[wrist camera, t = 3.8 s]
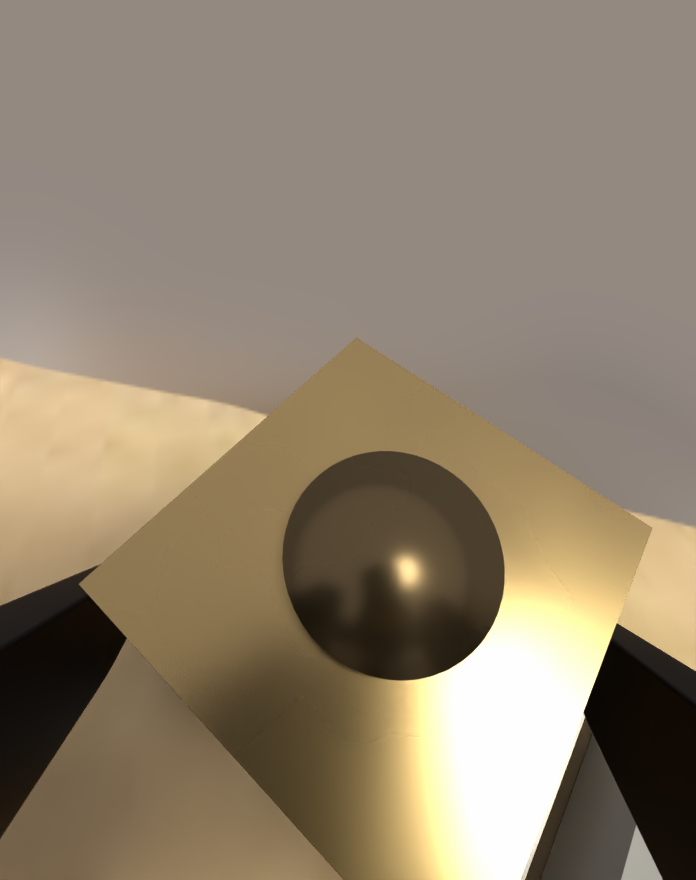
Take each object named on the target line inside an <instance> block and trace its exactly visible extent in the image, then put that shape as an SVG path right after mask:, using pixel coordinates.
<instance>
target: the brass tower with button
mask: <svg viewBox="0 0 696 880" xmlns="http://www.w3.org/2000/svg"><path fill="white" fill-rule="evenodd" d="M651 530H652V527H650V526H649V525H647V524H645V523H644V522H642V521H641V520H639V519H638V518H636V517H635V516H633V515H631V514H630V513H628V512H627V511H625V510H624V509H622V508H621V507H619V506H617V505H616V504H614V503H613V502H611V501H610V500H608V499H607V498H605V497H603V496H602V495H600V494H599V493H597V492H596V491H594V490H593V489H591V488H589V487H588V486H586V485H585V484H583V483H581V482H580V481H579V480H577V479H576V478H574V477H572V476H570V475H569V474H568V473H566V472H564V471H563V470H561V469H560V468H558V467H557V466H555V465H554V464H552V463H551V462H549V461H548V460H546V459H544V458H543V457H541V456H540V455H538V454H537V453H535V452H534V451H532V450H530V449H529V448H527V447H525V446H524V445H523V444H521V443H520V442H518V441H516V440H515V439H513V438H512V437H510V436H509V435H507V434H506V433H504V432H502V431H501V430H499V429H498V428H496V427H495V426H493V425H492V424H490V423H488V422H487V421H485V420H484V419H482V418H480V417H479V416H478V415H476V414H474V413H473V412H471V411H470V410H468V409H467V408H465V407H463V406H462V405H460V404H459V403H457V402H456V401H454V400H453V399H451V398H450V397H448V396H447V395H445V394H443V393H441V392H440V391H439V390H437V389H436V388H434V387H433V386H431V385H429V384H428V383H426V382H425V381H423V380H422V379H420V378H418V377H417V376H415V375H414V374H412V373H411V372H409V371H408V370H406V369H405V368H403V367H401V366H400V365H398V364H397V363H395V362H394V361H392V360H390V359H389V358H387V357H386V356H384V355H383V354H381V353H379V352H378V351H377V350H375V349H373V348H372V347H370V346H369V345H367V344H366V343H364V342H363V341H361V340H360V339H358V338H355V339H354V340H353V341H352V342H351V343H350V344H349V345H348V346H346V347H345V348H344V349H343V350H342V351H341V352H340V353H339V354H337V355H336V356H335V357H334V358H333V359H332V360H331V361H330V362H328V363H327V364H326V365H325V366H324V367H323V368H322V369H320V370H319V371H318V372H317V373H316V374H315V375H314V376H313V377H311V378H310V379H309V380H308V381H307V382H306V383H305V384H304V385H303V386H301V387H300V388H299V389H298V390H297V391H296V392H295V393H294V394H292V395H291V396H290V397H289V398H288V399H287V400H286V401H284V402H283V403H282V404H281V405H280V406H279V407H278V408H277V409H275V410H274V411H273V412H272V413H271V414H270V415H269V416H268V417H266V418H265V419H264V420H263V421H262V422H261V423H260V424H258V425H257V426H256V427H255V428H254V429H253V430H252V431H251V432H249V433H248V434H247V435H246V436H245V437H244V438H243V439H242V440H240V441H239V442H238V443H237V444H236V445H235V446H234V447H233V448H231V449H230V450H229V451H228V452H227V453H226V454H225V455H224V456H222V457H221V458H220V459H219V460H218V461H217V462H216V463H215V464H213V465H212V466H211V467H210V468H209V469H208V470H207V471H205V472H204V473H203V474H202V475H201V476H200V477H199V478H198V479H196V480H195V481H194V482H193V483H192V484H191V485H190V486H189V487H187V488H186V489H185V490H184V491H183V492H182V493H181V494H180V495H178V496H177V497H176V498H175V499H174V500H173V501H172V502H171V503H169V504H168V505H167V506H166V507H165V508H164V509H163V510H162V511H160V512H159V513H158V514H157V515H156V516H155V517H154V518H152V519H151V520H150V521H149V522H148V523H147V524H146V525H145V526H143V527H142V528H141V529H140V530H139V531H138V532H137V533H136V534H134V535H133V536H132V537H131V538H130V539H129V540H128V541H127V542H125V543H124V544H123V545H122V546H121V547H120V548H119V549H118V550H116V551H115V552H114V553H113V554H112V555H111V556H110V557H109V558H107V559H106V560H105V561H104V562H103V563H102V564H101V565H100V566H98V567H97V568H96V569H95V570H94V571H93V572H92V573H90V574H89V575H88V576H87V577H86V578H85V579H84V580H83V581H81V582H80V583H79V585H80V586H81V587H82V588H83V589H84V591H85V592H86V593H87V594H88V595H89V596H90V597H91V598H92V599H93V601H94V602H95V603H96V604H97V605H98V606H99V607H100V608H101V609H102V611H103V612H104V613H105V614H106V615H107V616H108V617H109V618H110V620H111V621H112V622H113V623H114V624H115V625H116V626H117V627H118V628H119V630H120V631H121V632H122V633H123V634H124V635H125V636H126V637H127V639H128V640H129V641H130V642H131V643H132V644H133V645H134V646H135V647H136V649H137V650H138V651H139V652H140V653H141V654H142V655H143V656H144V657H145V659H146V660H147V661H148V662H149V663H150V664H151V665H152V666H153V668H154V669H155V670H156V671H157V672H158V673H159V674H160V675H161V676H162V678H163V679H164V680H165V681H166V682H167V683H168V684H169V685H170V687H171V688H172V689H173V690H174V691H175V692H176V693H177V694H178V695H179V697H180V698H181V699H182V700H183V701H184V702H185V703H186V704H187V705H188V707H189V708H190V709H191V710H192V711H193V712H194V713H195V714H196V716H197V717H198V718H199V719H200V720H201V721H202V722H203V723H204V724H205V726H206V727H207V728H208V729H209V730H210V731H211V732H212V733H213V735H214V736H215V737H216V738H217V739H218V740H219V741H220V742H221V743H222V745H223V746H224V747H225V748H226V749H227V750H228V751H229V752H230V754H231V755H232V756H233V757H234V758H235V759H236V760H237V761H238V762H239V764H240V765H241V766H242V767H243V768H244V769H245V770H246V771H247V772H248V774H249V775H250V776H251V777H252V778H253V779H254V780H255V781H256V783H257V784H258V785H259V786H260V787H261V788H262V789H263V790H264V791H265V793H266V794H267V795H268V796H269V797H270V798H271V799H272V800H273V802H274V803H275V804H276V805H277V806H278V807H279V808H280V809H281V810H282V812H283V813H284V814H285V815H286V816H287V817H288V818H289V819H290V820H291V822H292V823H293V824H294V825H295V826H296V827H297V828H298V829H299V831H300V832H301V833H302V834H303V835H304V836H305V837H306V838H307V839H308V841H309V842H310V843H311V844H312V845H313V846H314V847H315V848H316V850H317V851H318V852H319V853H320V854H321V855H322V856H323V857H324V858H325V860H326V861H327V862H328V863H329V864H330V865H331V866H332V867H333V868H334V870H335V871H336V872H337V873H338V874H339V875H340V876H341V877H342V879H343V880H520V879H521V876H522V873H523V871H524V868H525V865H526V863H527V860H528V857H529V855H530V852H531V849H532V847H533V844H534V841H535V839H536V836H537V833H538V831H539V828H540V825H541V823H542V820H543V817H544V815H545V812H546V809H547V807H548V804H549V802H550V799H551V796H552V794H553V791H554V788H555V786H556V783H557V780H558V778H559V775H560V772H561V770H562V767H563V764H564V762H565V759H566V756H567V754H568V751H569V748H570V746H571V743H572V740H573V738H574V735H575V732H576V730H577V727H578V724H579V722H580V719H581V716H582V714H583V711H584V708H585V706H586V703H587V701H588V698H589V695H590V693H591V690H592V687H593V685H594V682H595V679H596V677H597V674H598V671H599V669H600V666H601V663H602V661H603V658H604V655H605V653H606V650H607V647H608V645H609V642H610V639H611V637H612V634H613V631H614V629H615V626H616V623H617V621H618V618H619V615H620V613H621V610H622V607H623V605H624V602H625V600H626V597H627V594H628V592H629V589H630V586H631V584H632V581H633V578H634V576H635V573H636V570H637V568H638V565H639V562H640V560H641V557H642V554H643V552H644V549H645V546H646V544H647V541H648V538H649V536H650V533H651Z"/></svg>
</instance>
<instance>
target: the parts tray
mask: <svg viewBox="0 0 696 880" xmlns="http://www.w3.org/2000/svg"><path fill="white" fill-rule="evenodd" d="M541 880H663V879H662V877H661V875H660V873H659V871H658V869H657V867H656V865H655V863H654V861H653V859H652V856H651V854H650V852H649V850H648V848H647V846H646V844H645V842H644V840H643V838H642V836H641V834H640V832H639V829H638V827H637V825H636V823H635V821H634V819H633V817H632V815H631V813H630V811H629V809H628V807H627V805H626V803H625V800H624V798H623V796H622V794H621V792H620V790H619V788H618V786H617V784H616V782H615V780H614V778H613V776H612V773H611V771H610V769H609V767H608V765H607V763H606V761H605V759H604V757H603V755H602V753H601V751H600V749H599V747H598V744H597V742H596V740H595V738H594V736H593V734H592V736H591V739H590V742H589V745H588V748H587V750H586V753H585V756H584V759H583V762H582V764H581V767H580V770H579V773H578V776H577V778H576V781H575V784H574V787H573V790H572V793H571V795H570V798H569V801H568V804H567V807H566V809H565V812H564V815H563V818H562V821H561V823H560V826H559V829H558V832H557V835H556V837H555V840H554V843H553V846H552V849H551V852H550V854H549V857H548V860H547V863H546V866H545V868H544V871H543V874H542V877H541Z"/></svg>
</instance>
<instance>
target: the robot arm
mask: <svg viewBox="0 0 696 880" xmlns="http://www.w3.org/2000/svg"><path fill="white" fill-rule="evenodd" d="M100 565H101V564H100ZM100 565H98V566H100ZM98 566H95V567H93V568H90V569H88V570H86V571H83V572H81V573H78V574H76V575H74V576H71V577H69V578H66V579H64V580H61V581H59V582H57V583H54V584H52V585H49V586H47V587H45V588H42V589H40V590H37V591H35V592H32V593H30V594H28V595H25V596H23V597H20V598H18V599H16V600H13V601H11V602H8V603H6V604H3V605H1V606H0V838H1V837H2V835H3V834H4V832H5V831H6V829H7V828H8V826H9V825H10V823H11V821H12V820H13V818H14V817H15V815H16V814H17V812H18V811H19V809H20V808H21V806H22V805H23V803H24V802H25V800H26V799H27V797H28V795H29V794H30V792H31V791H32V789H33V788H34V786H35V785H36V783H37V782H38V780H39V779H40V777H41V776H42V774H43V772H44V771H45V769H46V768H47V766H48V765H49V763H50V762H51V760H52V759H53V757H54V756H55V754H56V753H57V751H58V749H59V748H60V746H61V745H62V743H63V742H64V740H65V739H66V737H67V736H68V734H69V733H70V731H71V730H72V728H73V727H74V725H75V723H76V722H77V720H78V719H79V717H80V716H81V714H82V713H83V711H84V710H85V708H86V707H87V705H88V704H89V702H90V700H91V699H92V697H93V696H94V694H95V693H96V691H97V690H98V688H99V687H100V685H101V684H102V682H103V680H104V679H105V677H106V675H107V674H108V672H109V670H110V669H111V667H112V665H113V663H114V661H115V660H116V658H117V656H118V654H119V652H120V650H121V648H122V646H123V644H124V642H125V641H126V639H127V637H126V636H125V635H124V634H123V633H122V632H121V631H120V630H119V628H118V627H117V626H116V625H115V624H114V623H113V622H112V621H111V620H110V618H109V617H108V616H107V615H106V614H105V613H104V612H103V611H102V609H101V608H100V607H99V606H98V605H97V604H96V603H95V602H94V601H93V599H92V598H91V597H90V596H89V595H88V594H87V593H86V592H85V591H84V589H83V588H82V587H81V586H80V585H79V583H80V582H81V581H83V580H84V579H85V578H86V577H87V576H88V575H89V574H90V573H92V572H93V571H94V570H95V569H96V568H97V567H98ZM583 713H584V715H585V718H586V720H587V722H588V725H589V727H590V729H591V732H592V734H593V736H594V738H595V740H596V742H597V744H598V747H599V749H600V751H601V753H602V755H603V757H604V759H605V761H606V763H607V765H608V767H609V769H610V771H611V773H612V776H613V778H614V780H615V782H616V784H617V786H618V788H619V790H620V792H621V794H622V796H623V798H624V800H625V803H626V805H627V807H628V809H629V811H630V813H631V815H632V817H633V819H634V821H635V823H636V825H637V827H638V829H639V832H640V834H641V836H642V838H643V840H644V842H645V844H646V846H647V848H648V850H649V852H650V854H651V856H652V859H653V861H654V863H655V865H656V867H657V869H658V871H659V873H660V875H661V877H662V879H663V880H696V671H694V670H693V669H691V668H689V667H688V666H686V665H684V664H683V663H681V662H680V661H678V660H676V659H675V658H673V657H671V656H670V655H668V654H666V653H665V652H663V651H662V650H660V649H658V648H657V647H655V646H653V645H652V644H650V643H648V642H647V641H645V640H644V639H642V638H640V637H639V636H637V635H635V634H634V633H632V632H630V631H629V630H627V629H625V628H624V627H622V626H621V625H619V624H617V623H616V626H615V629H614V631H613V634H612V637H611V639H610V642H609V645H608V647H607V650H606V653H605V655H604V658H603V661H602V663H601V666H600V669H599V671H598V674H597V677H596V679H595V682H594V685H593V687H592V690H591V693H590V695H589V698H588V701H587V703H586V706H585V708H584V711H583Z"/></svg>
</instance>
